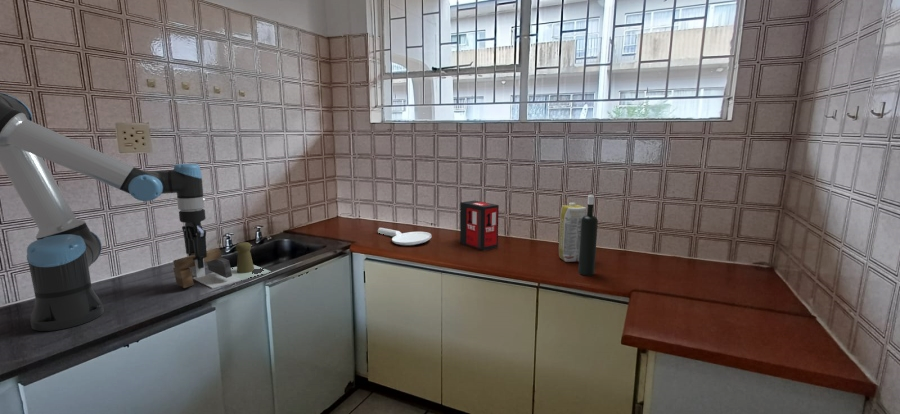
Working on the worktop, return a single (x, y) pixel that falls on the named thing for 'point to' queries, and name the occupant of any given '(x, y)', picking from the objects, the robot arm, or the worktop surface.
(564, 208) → the juice carton
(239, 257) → the cork
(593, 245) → the wine bottle
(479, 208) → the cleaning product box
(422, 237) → the frying pan
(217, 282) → the plate
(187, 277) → the wooden arch block
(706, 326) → the worktop surface
